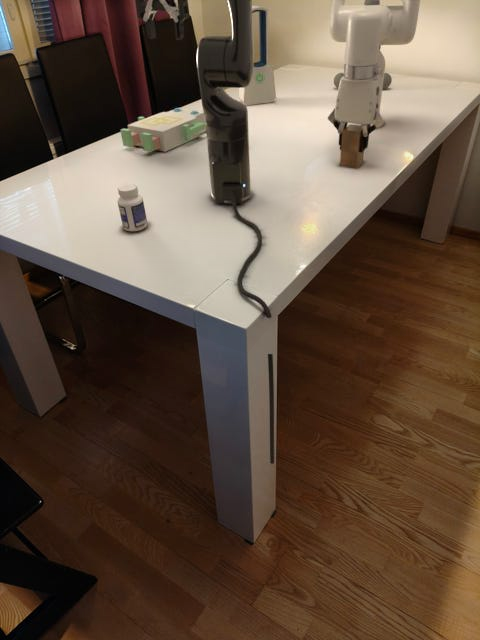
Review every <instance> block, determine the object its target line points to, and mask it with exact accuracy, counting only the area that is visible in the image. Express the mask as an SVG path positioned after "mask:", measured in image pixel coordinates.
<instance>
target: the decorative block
mask: <svg viewBox="0 0 480 640" xmlns="http://www.w3.org/2000/svg"><path fill="white" fill-rule="evenodd" d="M203 133H206V122H205V115H204V111H203V110H202V111H201V110H195V109H189V108H182V107H175V108H174V109H170V110H169V111H162V112H161V111H160V112H158V113H156V114H154V115H151V116H148V117H146V118H145V116H138V117H137V121H134V122H131V123H129V124H127V128H124V127H123V128H121V129H120V135H121V141H122V146H123V147H128V148H131V147H134V146H137V147H141V148H143V151H145V152H153V151H160V152H164V153H165V152H168V151H170V150H172V149H174V148H177V147H179V146H182V145H183V144H186V143H188V142H190V141H192V140H194V139H197V138H199V137H200V135H201V134H203Z"/></svg>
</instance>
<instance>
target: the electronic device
mask: <svg viewBox="0 0 480 640" xmlns="http://www.w3.org/2000/svg"><path fill="white" fill-rule="evenodd" d="M257 12H258V24H259V25H258V29H259V31H258V33H259V34H258V35H259V61H254V69H253V76H252V80H251V82H250V84H249V85H248V86H247V87H245V88H238V97H239V100H240V101H242V103H243V104H244V105H245V106H252V105H253V106H254V105H260V104H267V103H268V104H269V103H274V102H275V100H276V99H277V93H276V92H277V91H276V82H275V72H274V67H273V66H272V65H271V64H269V9H268V8H265V7H263V6H259V5H252V14H254V13H257Z"/></svg>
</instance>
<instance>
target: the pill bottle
mask: <svg viewBox="0 0 480 640" xmlns="http://www.w3.org/2000/svg"><path fill="white" fill-rule="evenodd" d="M117 193H118V196H119V197H118V199H117V206H118V210H119V211H118V212H119V215H120V219H121V224H122V227H123V229H124V230H125V231H128V232H138V231H141V230H144V229H146V227H147V226H148V217H147V214H146V208H145V203H144V198H143V196H142V195H141V194H139V188H138V185H137V184H135V183H132V182H131V183H123V184H121V185H119V186H118V187H117Z"/></svg>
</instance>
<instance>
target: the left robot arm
mask: <svg viewBox="0 0 480 640" xmlns="http://www.w3.org/2000/svg"><path fill="white" fill-rule="evenodd" d="M176 1H177V2H176ZM225 1H226V5H227V7H228V10H229V15H230V21H231V22H230V23H231V35H205V36H203V37H202V38H201V39H200V40H199V42H198V45H197V49H196V70H197V78H198V84H199V92H200V99H201V107H202V112H204V115H205V122H206V131H205V133H206V144H207V155H208V166H209V167H208V168H209V179H210V189H211V193H210V195H211V200H212V201H214V203H215V204H216V205H232V208H233V212H234V215H235V217H236V218H237V219H238V220H239V221H240V222H241V223H243V224H244V225H246V226H248V227H251V228H253V230H254V231H255V233H256V235H257V242H256V243H257V244H256V246H255V248H254V250H253V251H252V252H251V253H250V255H249V256H248V257H247V258H246V260H244V263H243V265H242V267H241V269H240V271H239V274H238V276H237V281H236V282H237V288H238V290H239V292H240V293H241V294H242V295H243V296H244V297H246V298H249V299H250V300H253V301H255V302H256V303H258V305H260V306H261V307H262V309H263V311H264V313H265V317H266V318H268V319H271V318H272V316H273V315H272V313H271V310H270V307H269V306H268V304H267V303H266V302H265V301H264V300H263V299H262V298H261V297H260V296H258V295H256V294H253V293H251V292H249V291H247V290H246V289H245V288H244V285H243V278H244V275H245V273H246V272H247V268H248V267H249V264H250V263H251V261H252V260H253V259H254V258H255V257H256V256H257V254H258V253H259V251H260V250H261V247H262V242H263V234H262V232H261V230H260V228H259V227H258V226H257V224H256V223H253V221H252V222H251V221H249V220H247V219H245V218H243V217H242V215H241V214H240V212H239V210H238V206H237V205H242V204H243V202H246V201H248V200H250V198H251V196H252V190H251V165H250V162H251V161H250V138H249V135H250V134H249V111H248V107H247V105H246V104H245V103H244V102H241V101H239V100H238V99H235V98H233V97H232V96H230V95H229V94H228V93H227V92H226V90H225V89H224V88H229V89H230V88H231V89H239V88H245V87H247V86H248V85H249V84H250V82H251V80H252V76H253V69H254V63H255V46H254V45H255V43H254V23H253V22H254V21H253V13H252V6H253V0H225ZM135 7H136V17H137V18H138V20H140V19H141V20H142V21H143V22H144V23H145V30H146V35H147V37H148V39H149V40H154V39H157V32H156V31H157V30H156V24H155V20H154V18H155V16H156V13H158V12H159V11H161V12H165V11H166V13H167V14H168V15H170V16H171V18H172V20H173V21H174V22H173V26H174V35H175V40H176V41H182V40H183V39H184V37H185V28H184V21H185V20H186V19H189V18H190V7H189V0H135ZM273 355H274V354H273V353H267V365H268V366H267V369H268V397H269V398H268V400H269V463H270V464H271V465H273V464H275V389H274V388H275V385H274V384H275V383H274V381H275V379H274V356H273Z"/></svg>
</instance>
